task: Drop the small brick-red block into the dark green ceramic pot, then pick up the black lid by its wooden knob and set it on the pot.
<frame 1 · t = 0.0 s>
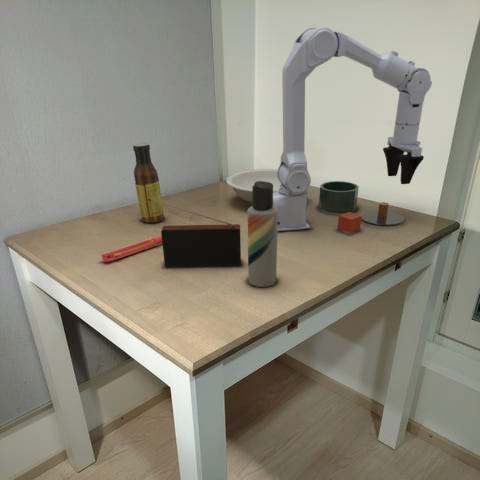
hand: (398, 179, 121), 10 cm above the table, tool pointing down, fingers open, 7 cm apart
block: (348, 230, 119), on the table
lid: (381, 218, 124), point 1 cm above the table
pot: (337, 208, 134), on the table
soup bowl: (267, 202, 141), on the table
lotion bottle: (262, 282, 96), on the table
long red bar: (148, 247, 113), on the table
sauce bottle: (152, 220, 129), on the table
radio: (198, 264, 104), on the table
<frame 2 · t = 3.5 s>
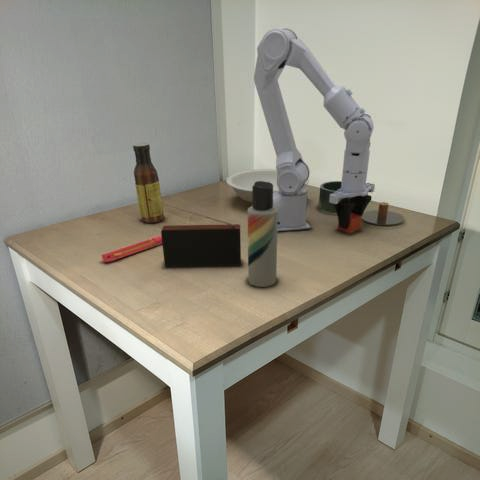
hand: (349, 225, 118), 1 cm above the table, tool pointing down, fingers closed on block, 4 cm apart
block: (348, 230, 119), on the table, touching gripper
everything else where it was.
when the fingers open (6 cm above the table, at t = 7.8 s): block drops 4 cm, resting on pot.
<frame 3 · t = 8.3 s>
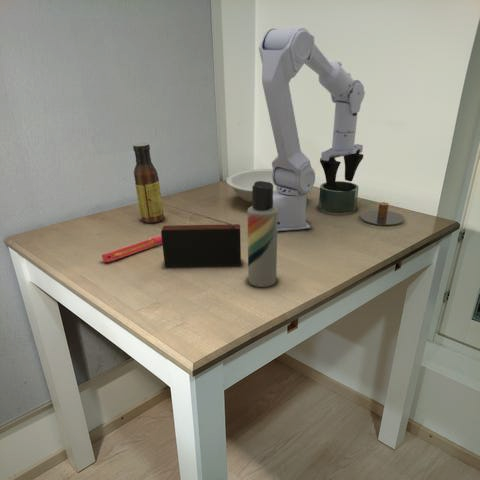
hand: (339, 183, 130), 7 cm above the table, tool pointing down, fingers open, 7 cm apart
block: (337, 207, 133), resting on pot
everything else where it was.
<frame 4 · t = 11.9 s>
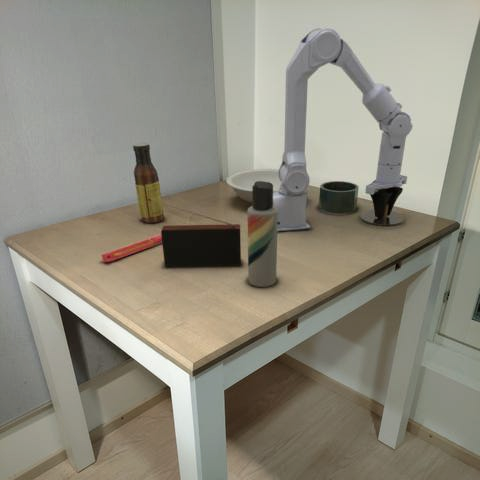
hand: (382, 215, 124), 1 cm above the table, tool pointing down, fingers closed on lid, 2 cm apart
lid: (381, 218, 124), point 1 cm above the table, touching gripper
everything else where it was.
when the fingers open (7 cm above the table, at t = 15.5 s): lid stays where it is, resting on pot.
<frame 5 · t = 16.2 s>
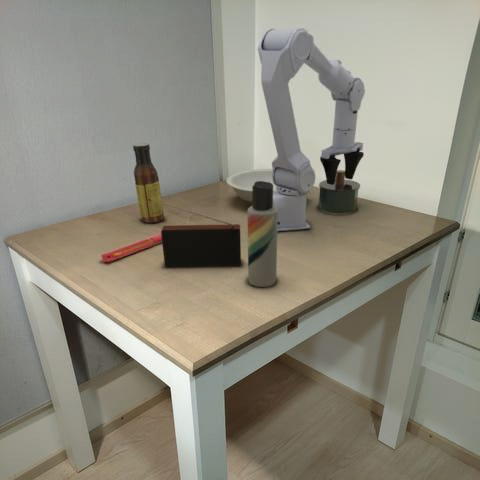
hand: (339, 181, 129), 8 cm above the table, tool pointing down, fingers open, 7 cm apart
lid: (339, 186, 130), point 6 cm above the table, touching pot
everything else where it was.
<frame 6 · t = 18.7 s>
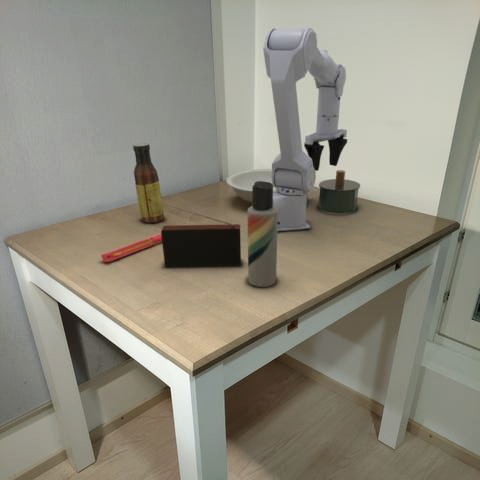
hand: (324, 167, 132), 10 cm above the table, tool pointing down, fingers open, 7 cm apart
nothing on the table moved.
at the end: block inside the target area in the pot (0.1 cm from its centre), point 0.4 cm above the pot's base; lid 0.0 cm off-centre on the pot, point 6.4 cm above the pot's base; lid tilted 0° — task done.
